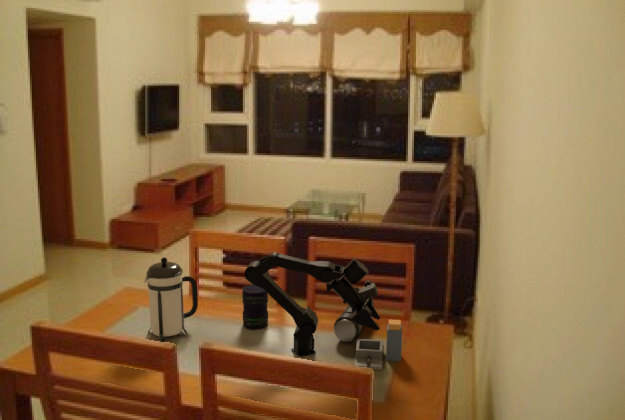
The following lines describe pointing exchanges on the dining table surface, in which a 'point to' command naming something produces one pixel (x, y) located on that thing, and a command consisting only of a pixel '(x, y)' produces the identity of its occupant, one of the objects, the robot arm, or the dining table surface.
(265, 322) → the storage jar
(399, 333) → the orange-capped square pillar
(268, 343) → the dining table surface
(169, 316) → the coffee press
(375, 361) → the end holder
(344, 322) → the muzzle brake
